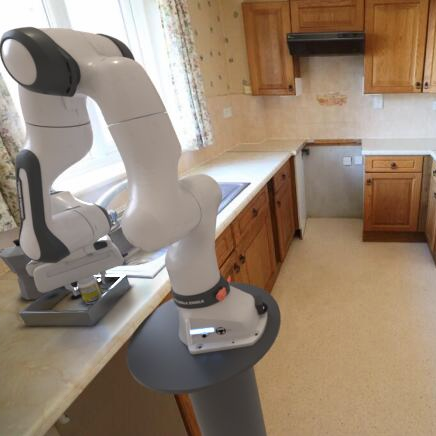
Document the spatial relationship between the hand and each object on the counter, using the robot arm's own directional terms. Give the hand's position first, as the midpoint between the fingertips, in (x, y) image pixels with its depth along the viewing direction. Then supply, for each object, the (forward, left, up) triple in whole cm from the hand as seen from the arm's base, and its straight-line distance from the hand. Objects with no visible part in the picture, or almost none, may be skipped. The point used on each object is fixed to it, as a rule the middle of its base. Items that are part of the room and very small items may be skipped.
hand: (90, 289), depth 93 cm
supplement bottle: (0, 0, -4) cm, 4 cm away
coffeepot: (+19, -4, -4) cm, 20 cm away
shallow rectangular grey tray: (+2, +3, -4) cm, 5 cm away
